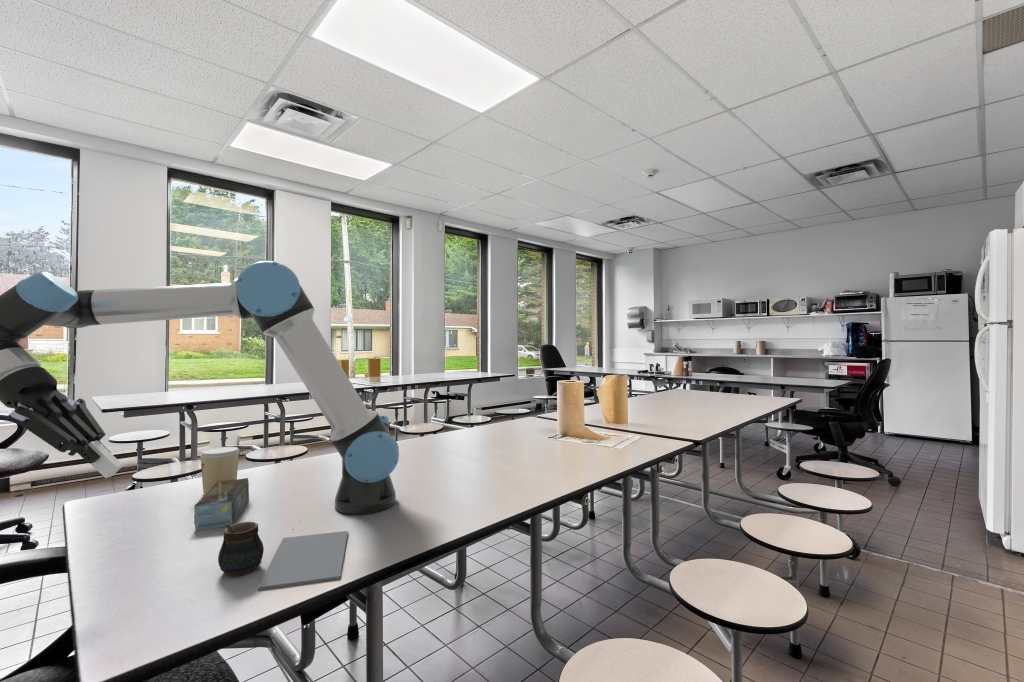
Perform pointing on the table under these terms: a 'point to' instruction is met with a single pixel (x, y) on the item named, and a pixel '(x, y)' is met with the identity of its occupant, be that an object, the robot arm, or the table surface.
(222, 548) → the mate gourd
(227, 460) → the coffee cup
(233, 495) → the beverage carton
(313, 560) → the mat
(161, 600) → the table surface
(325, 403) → the robot arm
